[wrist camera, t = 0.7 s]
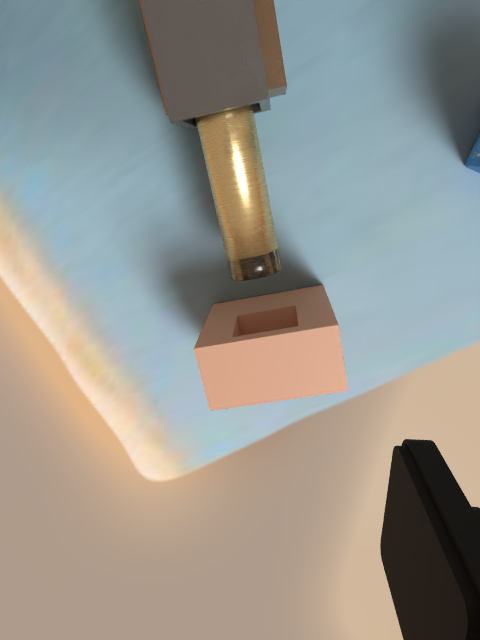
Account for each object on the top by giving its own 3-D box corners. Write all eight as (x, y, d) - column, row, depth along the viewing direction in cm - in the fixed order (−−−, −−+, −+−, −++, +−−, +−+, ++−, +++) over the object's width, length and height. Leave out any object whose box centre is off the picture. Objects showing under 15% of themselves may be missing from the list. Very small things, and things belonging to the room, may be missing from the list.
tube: (166, -35, 22) (151, -63, 20) (224, -52, 22) (217, -83, 19) (233, 271, 27) (228, 283, 25) (281, 262, 27) (281, 273, 24)
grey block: (143, -27, 26) (90, -102, 19) (261, -62, 25) (255, -155, 18) (180, 136, 29) (148, 127, 21) (288, 111, 28) (292, 92, 20)
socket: (213, 304, 33) (193, 348, 25) (322, 284, 31) (338, 324, 24) (224, 353, 34) (210, 410, 26) (330, 336, 33) (348, 390, 25)
